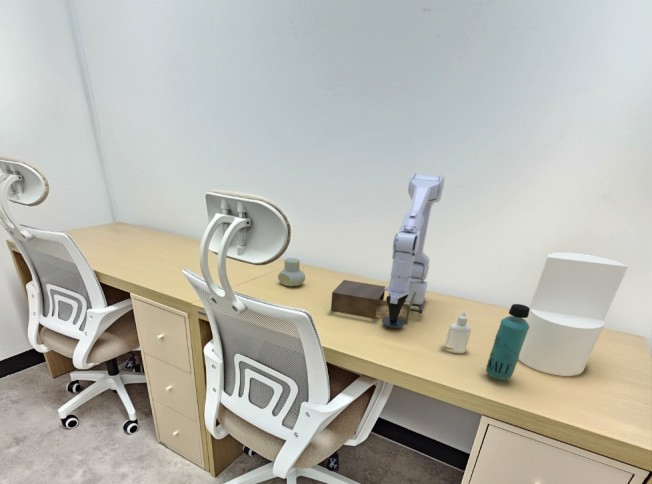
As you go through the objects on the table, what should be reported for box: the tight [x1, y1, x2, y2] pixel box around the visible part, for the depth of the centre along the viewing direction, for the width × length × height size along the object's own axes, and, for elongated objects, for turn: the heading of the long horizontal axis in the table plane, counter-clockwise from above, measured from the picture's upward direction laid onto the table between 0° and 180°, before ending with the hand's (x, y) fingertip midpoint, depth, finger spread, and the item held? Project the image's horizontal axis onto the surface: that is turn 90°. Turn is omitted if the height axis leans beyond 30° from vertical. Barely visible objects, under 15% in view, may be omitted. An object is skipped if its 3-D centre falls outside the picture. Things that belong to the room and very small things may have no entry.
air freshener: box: [277, 257, 306, 288], centre depth 156 cm, size 11×8×10 cm
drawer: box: [375, 292, 426, 325], centre depth 131 cm, size 18×14×7 cm
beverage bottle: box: [485, 303, 530, 380], centre depth 96 cm, size 6×7×20 cm
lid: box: [381, 317, 406, 328], centre depth 121 cm, size 7×7×4 cm
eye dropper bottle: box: [444, 311, 472, 354], centre depth 111 cm, size 4×6×12 cm
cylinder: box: [518, 251, 629, 377], centre depth 104 cm, size 17×17×28 cm
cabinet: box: [330, 279, 387, 319], centre depth 135 cm, size 15×14×8 cm
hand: (393, 317), depth 121 cm, fingers closed on lid, 2 cm apart
